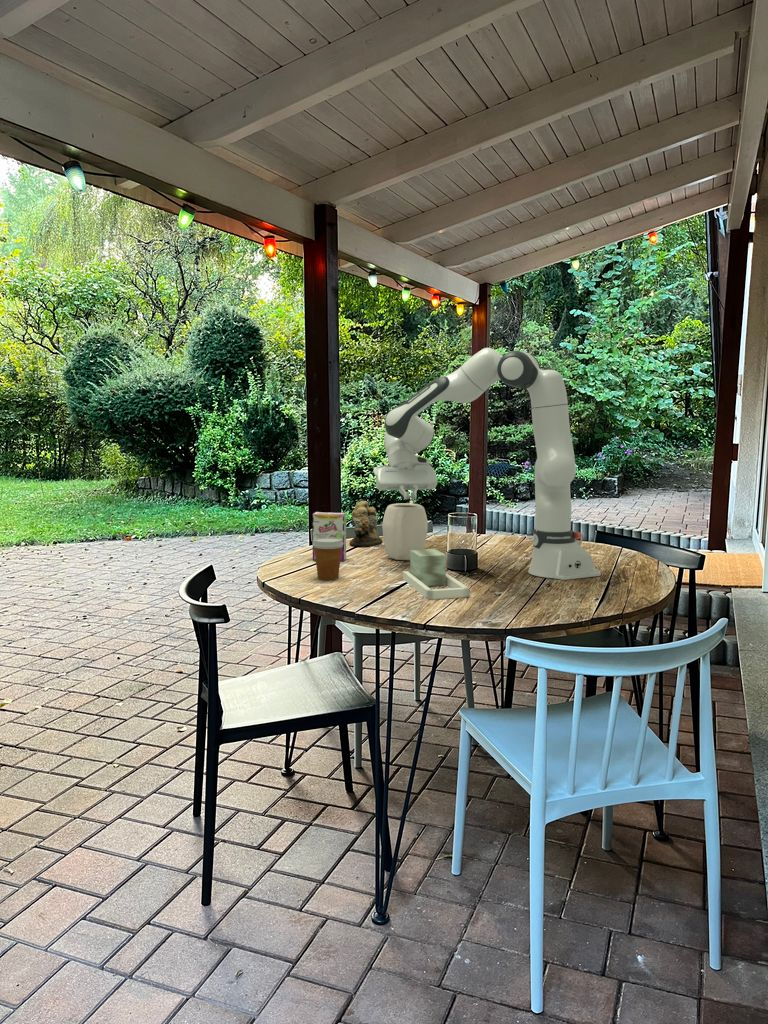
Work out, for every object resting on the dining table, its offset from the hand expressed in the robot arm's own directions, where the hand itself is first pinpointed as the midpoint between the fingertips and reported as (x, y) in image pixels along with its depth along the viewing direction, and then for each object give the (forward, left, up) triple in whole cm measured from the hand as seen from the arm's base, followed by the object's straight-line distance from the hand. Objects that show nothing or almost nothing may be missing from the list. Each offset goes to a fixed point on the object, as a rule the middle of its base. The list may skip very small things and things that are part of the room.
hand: (410, 498), depth 231 cm
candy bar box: (+23, -21, -24) cm, 39 cm away
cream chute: (0, +25, -23) cm, 34 cm away
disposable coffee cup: (+28, +6, -24) cm, 37 cm away
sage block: (0, +19, -23) cm, 30 cm away
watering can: (-4, -20, -24) cm, 31 cm away
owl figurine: (+4, -49, -24) cm, 54 cm away
